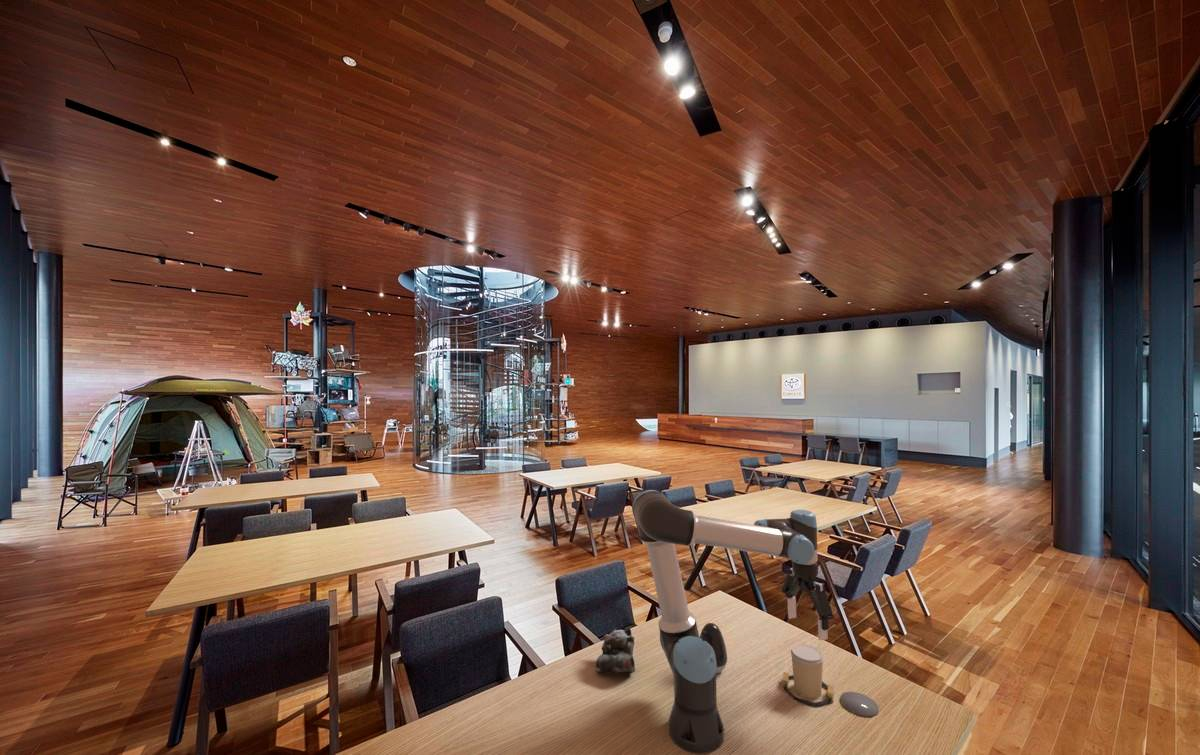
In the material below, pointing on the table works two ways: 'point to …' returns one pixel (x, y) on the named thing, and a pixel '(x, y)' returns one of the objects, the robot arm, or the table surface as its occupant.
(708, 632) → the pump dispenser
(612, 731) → the table surface
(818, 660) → the coffee cup
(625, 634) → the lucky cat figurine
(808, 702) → the socket ring
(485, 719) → the table surface
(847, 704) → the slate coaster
